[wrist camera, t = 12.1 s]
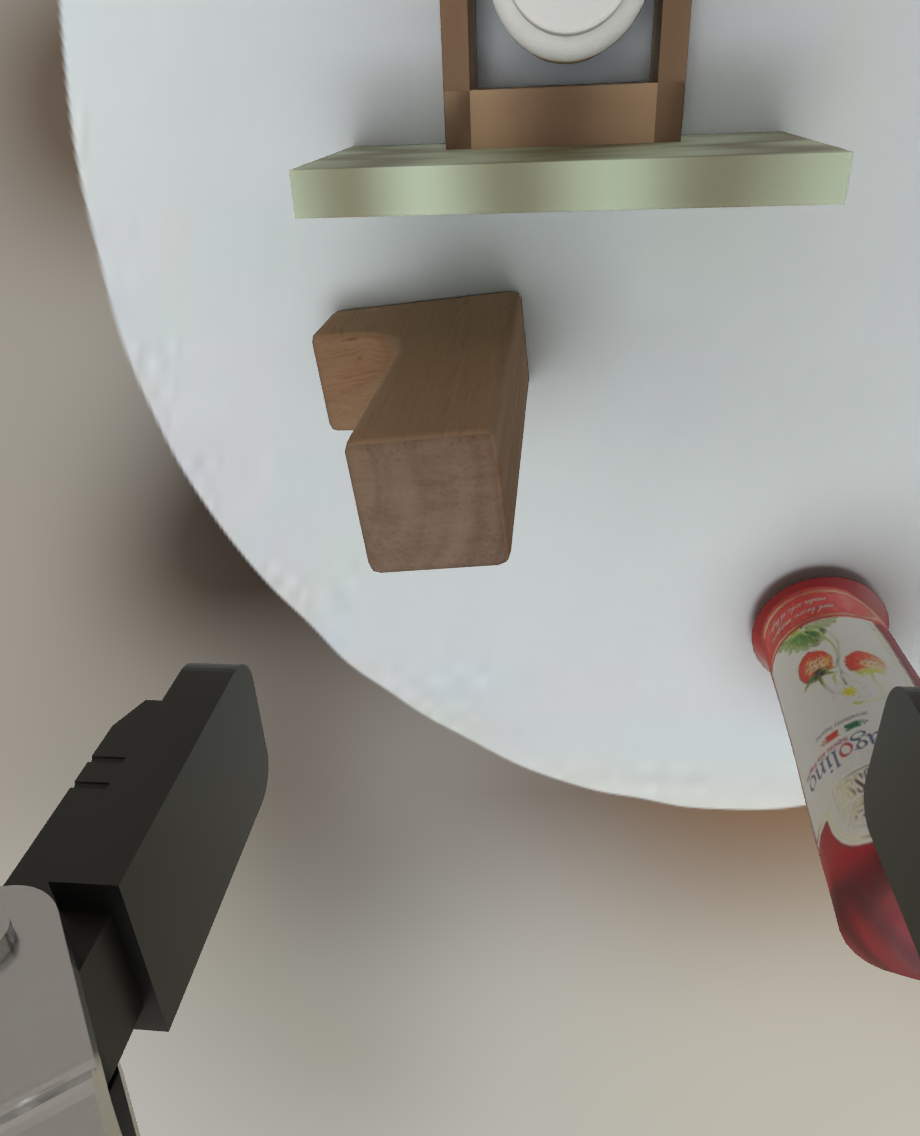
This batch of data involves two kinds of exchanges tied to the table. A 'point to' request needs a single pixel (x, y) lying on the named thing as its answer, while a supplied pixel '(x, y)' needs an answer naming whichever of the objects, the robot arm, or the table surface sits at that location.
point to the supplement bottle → (566, 26)
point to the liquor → (840, 742)
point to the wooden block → (430, 425)
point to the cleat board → (570, 147)
